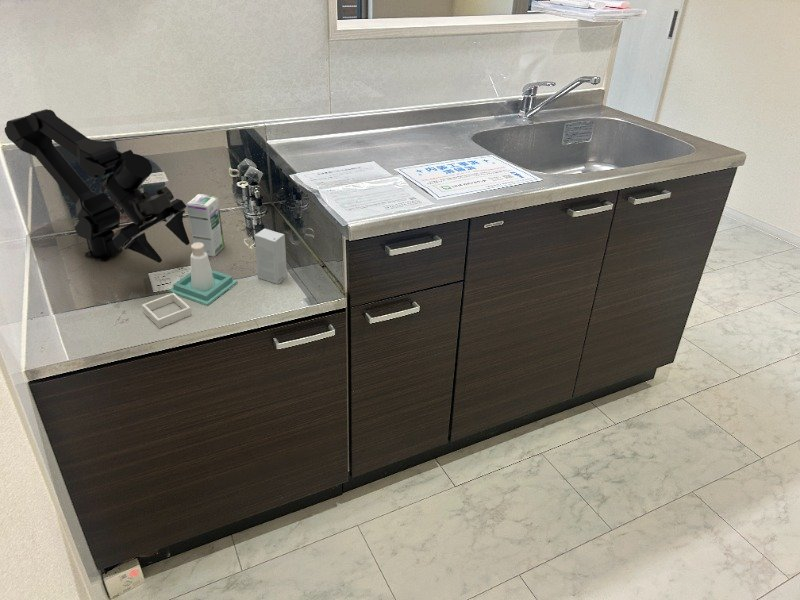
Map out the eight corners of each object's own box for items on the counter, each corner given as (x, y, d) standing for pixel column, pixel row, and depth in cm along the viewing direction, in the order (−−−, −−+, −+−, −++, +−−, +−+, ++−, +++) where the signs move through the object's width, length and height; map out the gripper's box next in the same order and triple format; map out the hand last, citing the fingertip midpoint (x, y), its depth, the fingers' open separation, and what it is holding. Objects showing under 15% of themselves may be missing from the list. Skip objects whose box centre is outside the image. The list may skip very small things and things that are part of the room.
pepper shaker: (199, 277, 145) (193, 237, 139) (219, 281, 144) (214, 241, 138) (186, 288, 141) (179, 248, 135) (207, 293, 140) (201, 252, 134)
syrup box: (215, 257, 154) (208, 206, 146) (193, 253, 155) (185, 202, 147) (224, 246, 159) (219, 196, 150) (203, 243, 159) (197, 192, 151)
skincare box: (287, 276, 149) (285, 234, 142) (277, 284, 146) (275, 241, 139) (267, 269, 151) (264, 227, 144) (257, 277, 148) (253, 234, 141)
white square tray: (143, 312, 134) (141, 304, 132) (175, 299, 138) (173, 292, 137) (159, 328, 129) (157, 320, 128) (191, 314, 134) (190, 307, 133)
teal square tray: (169, 292, 140) (168, 285, 139) (200, 270, 149) (199, 263, 148) (207, 306, 137) (206, 298, 136) (237, 282, 145) (236, 275, 144)
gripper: (112, 196, 124) (162, 256, 127) (175, 166, 138) (218, 221, 142) (91, 220, 131) (139, 277, 134) (153, 189, 145) (195, 241, 148)
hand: (175, 252), depth 139 cm, fingers open, 9 cm apart
